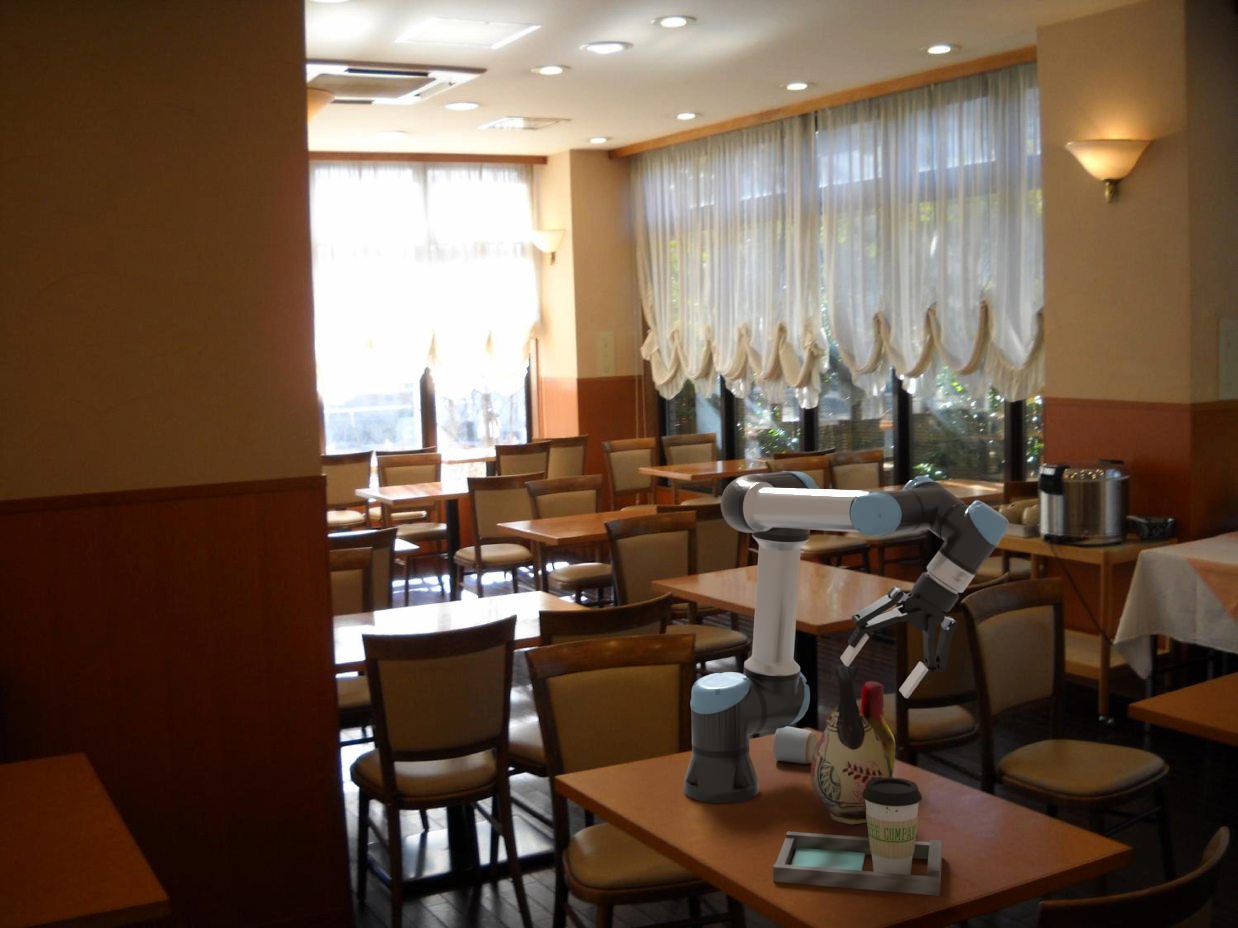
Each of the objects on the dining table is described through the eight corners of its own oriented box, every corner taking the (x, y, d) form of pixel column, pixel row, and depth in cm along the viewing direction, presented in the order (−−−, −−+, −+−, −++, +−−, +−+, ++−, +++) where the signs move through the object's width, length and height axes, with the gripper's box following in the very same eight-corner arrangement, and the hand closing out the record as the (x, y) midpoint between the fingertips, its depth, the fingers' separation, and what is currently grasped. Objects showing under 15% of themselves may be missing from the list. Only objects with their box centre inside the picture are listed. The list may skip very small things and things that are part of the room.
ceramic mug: (809, 768, 276) (809, 733, 276) (772, 764, 280) (772, 729, 279) (822, 755, 286) (822, 721, 285) (787, 751, 289) (787, 717, 289)
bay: (773, 881, 216) (773, 860, 216) (787, 844, 232) (786, 825, 232) (939, 895, 209) (939, 874, 209) (941, 856, 225) (941, 837, 225)
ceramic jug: (813, 801, 255) (811, 651, 253) (892, 804, 252) (892, 653, 250) (807, 831, 239) (806, 672, 237) (893, 836, 236) (892, 674, 233)
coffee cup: (857, 878, 216) (857, 791, 215) (868, 857, 225) (867, 773, 224) (917, 886, 213) (917, 797, 212) (925, 864, 222) (925, 779, 221)
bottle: (902, 779, 268) (902, 684, 266) (881, 785, 264) (881, 689, 262) (859, 765, 277) (859, 674, 276) (839, 771, 274) (838, 678, 272)
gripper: (895, 558, 219) (825, 658, 223) (1005, 622, 226) (935, 717, 230) (880, 542, 226) (812, 639, 230) (987, 604, 233) (919, 697, 237)
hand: (873, 678), depth 230 cm, fingers open, 13 cm apart
